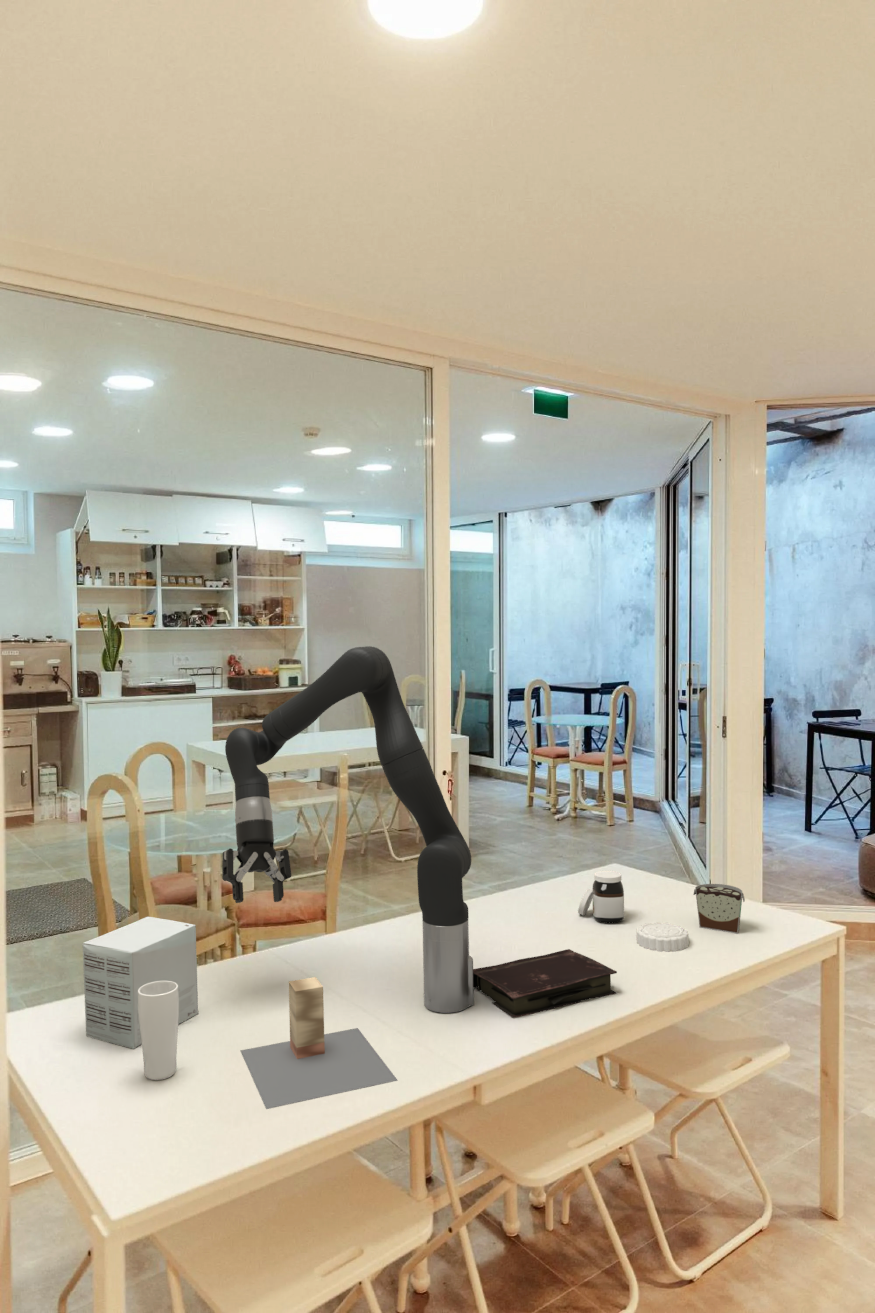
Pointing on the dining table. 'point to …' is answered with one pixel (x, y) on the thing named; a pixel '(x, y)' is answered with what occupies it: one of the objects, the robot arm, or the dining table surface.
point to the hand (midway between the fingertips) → (259, 902)
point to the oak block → (306, 1017)
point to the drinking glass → (159, 1027)
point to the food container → (719, 907)
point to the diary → (543, 982)
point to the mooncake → (662, 937)
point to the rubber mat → (315, 1069)
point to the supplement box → (136, 975)
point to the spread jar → (605, 898)
